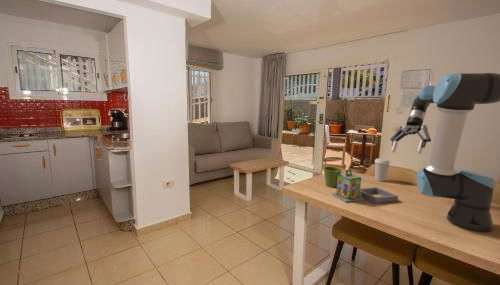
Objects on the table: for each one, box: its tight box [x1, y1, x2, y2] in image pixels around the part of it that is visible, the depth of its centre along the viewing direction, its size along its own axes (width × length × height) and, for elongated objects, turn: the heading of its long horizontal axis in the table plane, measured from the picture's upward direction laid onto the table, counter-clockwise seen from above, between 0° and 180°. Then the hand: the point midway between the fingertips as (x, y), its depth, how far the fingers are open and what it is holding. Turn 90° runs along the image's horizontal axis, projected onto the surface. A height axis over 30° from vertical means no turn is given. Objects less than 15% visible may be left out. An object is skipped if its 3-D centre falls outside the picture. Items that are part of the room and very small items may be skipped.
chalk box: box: [335, 169, 362, 199], centre depth 133 cm, size 9×9×15 cm
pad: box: [331, 192, 365, 203], centre depth 135 cm, size 12×12×1 cm
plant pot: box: [322, 166, 343, 188], centre depth 154 cm, size 12×12×11 cm
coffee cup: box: [374, 157, 391, 182], centre depth 168 cm, size 10×10×15 cm
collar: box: [360, 186, 399, 205], centre depth 136 cm, size 15×15×3 cm
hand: (405, 152), depth 132 cm, fingers open, 13 cm apart
